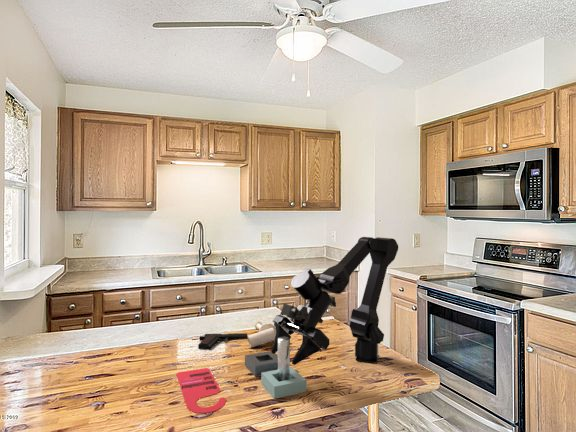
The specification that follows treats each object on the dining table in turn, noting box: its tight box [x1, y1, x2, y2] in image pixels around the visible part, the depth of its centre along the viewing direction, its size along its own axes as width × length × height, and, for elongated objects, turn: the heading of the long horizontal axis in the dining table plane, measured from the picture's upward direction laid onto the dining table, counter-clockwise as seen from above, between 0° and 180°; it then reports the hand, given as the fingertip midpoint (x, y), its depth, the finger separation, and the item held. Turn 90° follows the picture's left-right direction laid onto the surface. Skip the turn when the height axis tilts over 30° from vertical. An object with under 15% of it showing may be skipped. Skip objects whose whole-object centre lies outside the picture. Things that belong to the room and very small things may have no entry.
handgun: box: [197, 333, 248, 351], centre depth 135 cm, size 2×17×12 cm
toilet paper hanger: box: [247, 321, 276, 348], centre depth 141 cm, size 21×11×7 cm, turn 17°
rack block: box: [260, 366, 307, 399], centre depth 101 cm, size 9×9×3 cm
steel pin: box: [277, 337, 291, 382], centre depth 101 cm, size 3×3×13 cm
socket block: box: [244, 350, 278, 378], centre depth 114 cm, size 9×9×3 cm
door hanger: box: [175, 367, 227, 414], centre depth 100 cm, size 9×1×25 cm
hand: (282, 358), depth 101 cm, fingers open, 9 cm apart
